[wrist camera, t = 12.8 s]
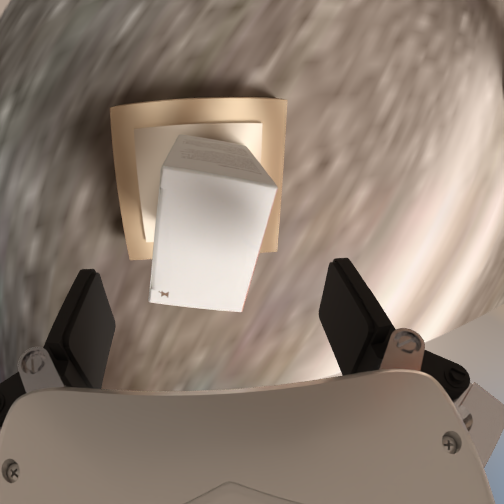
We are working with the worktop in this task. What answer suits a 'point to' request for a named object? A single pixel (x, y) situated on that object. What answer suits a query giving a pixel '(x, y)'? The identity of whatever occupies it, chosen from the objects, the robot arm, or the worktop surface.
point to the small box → (209, 224)
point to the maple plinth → (193, 124)
